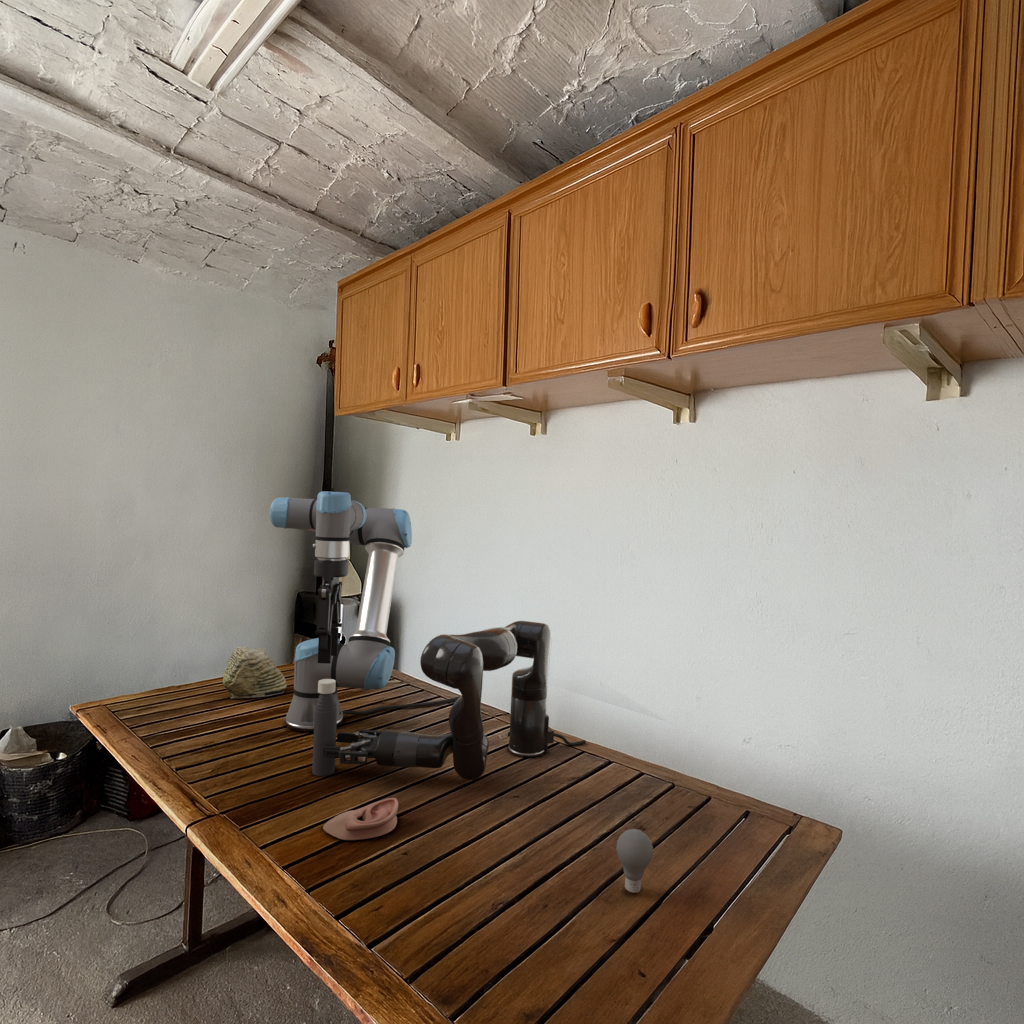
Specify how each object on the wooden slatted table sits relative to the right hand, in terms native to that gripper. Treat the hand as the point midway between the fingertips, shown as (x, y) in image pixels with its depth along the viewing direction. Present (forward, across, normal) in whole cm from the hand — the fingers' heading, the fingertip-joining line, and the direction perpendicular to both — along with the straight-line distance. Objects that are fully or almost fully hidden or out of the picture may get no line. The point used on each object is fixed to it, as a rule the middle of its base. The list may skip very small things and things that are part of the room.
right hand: (330, 743), depth 145 cm
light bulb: (-65, +35, +6) cm, 74 cm away
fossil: (+43, -50, +7) cm, 66 cm away
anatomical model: (-14, +22, +7) cm, 27 cm away
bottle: (+2, 0, +7) cm, 7 cm away
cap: (+2, 0, -14) cm, 14 cm away
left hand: (+2, 0, -20) cm, 20 cm away
